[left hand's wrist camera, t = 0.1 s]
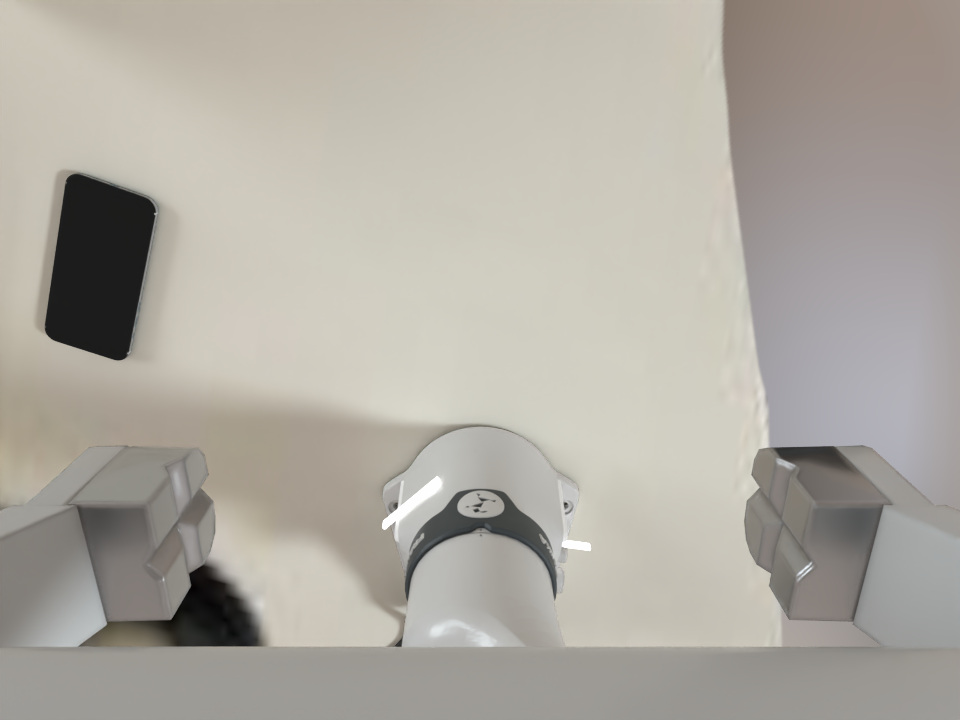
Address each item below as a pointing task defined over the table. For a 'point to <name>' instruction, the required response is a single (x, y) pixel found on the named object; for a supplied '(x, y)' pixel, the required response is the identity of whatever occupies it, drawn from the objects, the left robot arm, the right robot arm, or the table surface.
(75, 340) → the smartphone
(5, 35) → the table surface
